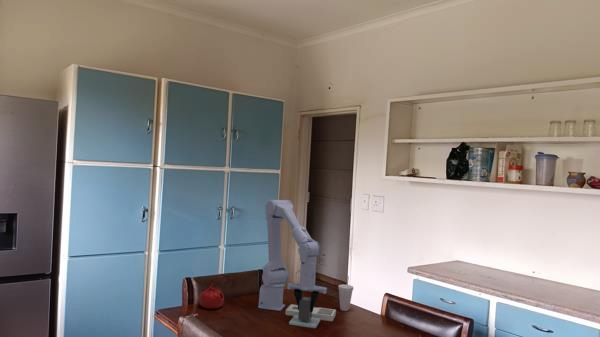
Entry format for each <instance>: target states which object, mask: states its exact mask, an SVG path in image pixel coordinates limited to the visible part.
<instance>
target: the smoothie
mask: <svg viewBox="0 0 600 337" xmlns="http://www.w3.org/2000/svg"><path fill="white" fill-rule="evenodd" d="M353 291H354V286H353V285H350V284H349V275H347V276H346V284H339V285H338V295H339V296H338V297H339V298H338V299H339V309H340V311H344V312H348V310H350V306H351V303H352V302H351V301H352V296H353Z"/></svg>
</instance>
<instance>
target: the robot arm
mask: <svg viewBox="0 0 600 337" xmlns="http://www.w3.org/2000/svg"><path fill="white" fill-rule="evenodd" d="M264 208H265V219H266V228H267V248H268V249H267V250H268V253H267V254H268V262H267V263H266V264H265V265H264V266H263V267H262V268H263V270H262V276H261V279H262V283H263V284H261V286H260V288H259V297H258V306H257V308H258V309H262V310H263V309H264V310H272V311H278V312H279V311H282V310H283V308H285V306H286V304H284V303H283V301H284V288H285V286H286V284H287V290H292V291H293V290H294V291H293V295H294V298H295V301H296V305H298V310H299V301H300V299H301V298H302V297H303V292H311V293H310V298H311V308H310V312H313V308H314V307H315V304H316V301H317V299H318V297H319V295H320V294H324V295H326V294H327V292H328V291H327V290H328V288H327V287H325V286H319V285H316V272H317V258H318V257H319V256H320V254H321V246H320V243H319V241H317V240H314V239H313V238H312V237H311V235H310V234H309V232H308V230H307V228H306V227H305V226H303V225H302V226H301V225H300V222H299V220H298V218H297V217H296V215H295V212H294V205H293V203H292V200H290V199H271V198H270V199H269V200H268V201H267V203H266V205H265V206H264ZM283 220H285V221H286V223H287V224H288V226H289V227H290V229H291V230H292V232H291V235H292V236H291V237H293V239H294V241H295V242H296V245H297V246H298V254H299V260H300V274H299V283H293V282H292V283H290V282H288V281H289V276H290V274H289V272H288V268H287V264H286V263H284V262H283V261H282V244H281V243H282V242H281V240H282V238H281V222H282V221H283Z"/></svg>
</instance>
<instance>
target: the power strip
mask: <svg viewBox="0 0 600 337" xmlns="http://www.w3.org/2000/svg"><path fill="white" fill-rule="evenodd" d="M336 314H337V309H332V308H325V307H315V306H314V308H313V312H312V317H313V318H320V321H328V322H334V319H335V317H336ZM285 315H286V316H291V317H294V315H298V316H299V310H298V305H297V304H292V303H291V304H290V305H288V307H286V309H285Z"/></svg>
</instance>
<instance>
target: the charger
mask: <svg viewBox="0 0 600 337" xmlns="http://www.w3.org/2000/svg"><path fill="white" fill-rule="evenodd" d="M310 308H311V296H310V297H308V296H302V298H301V299H300V301H299V316H298V319H299V320H306V321H309V320H310V319H311V317H312V312H310Z"/></svg>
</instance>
